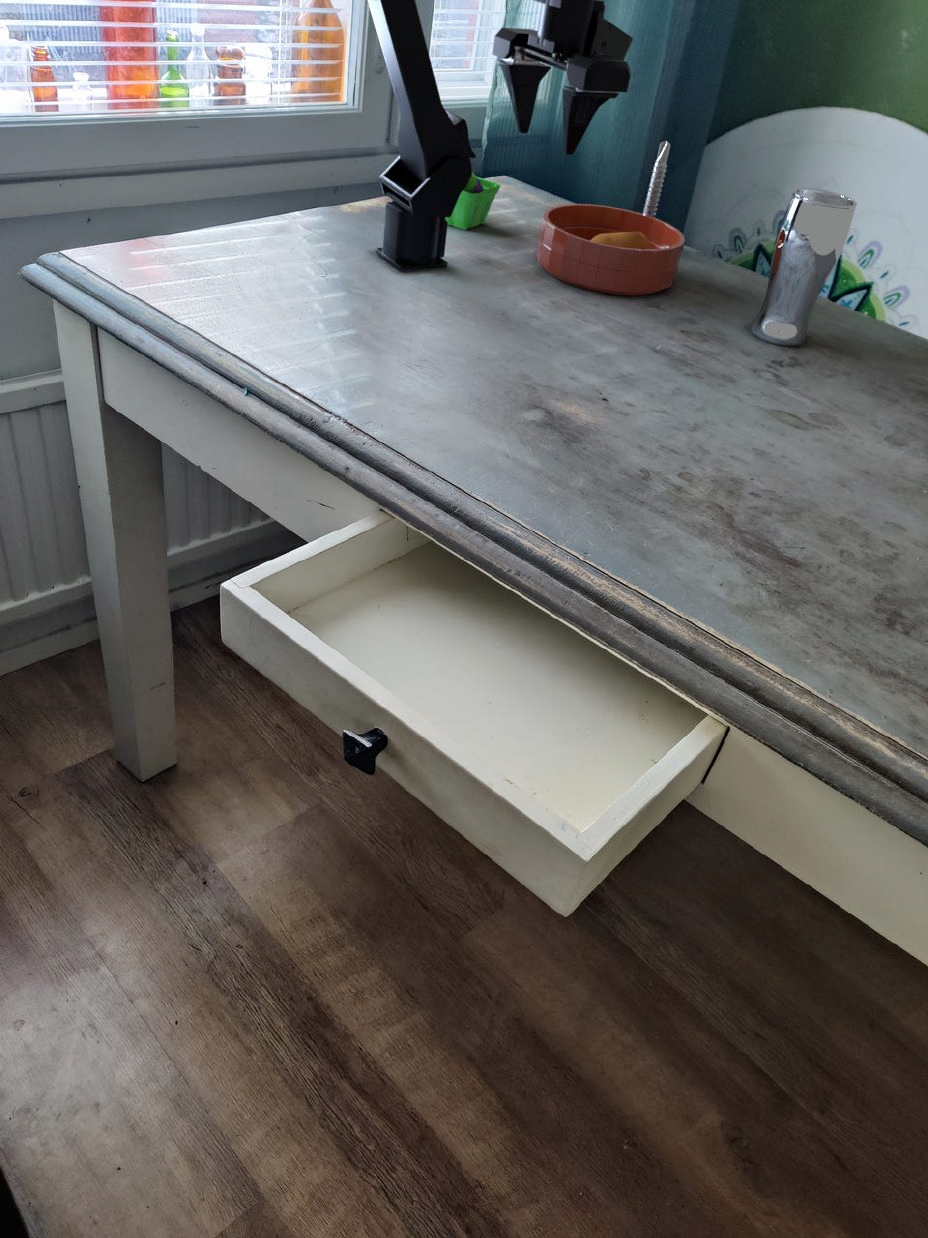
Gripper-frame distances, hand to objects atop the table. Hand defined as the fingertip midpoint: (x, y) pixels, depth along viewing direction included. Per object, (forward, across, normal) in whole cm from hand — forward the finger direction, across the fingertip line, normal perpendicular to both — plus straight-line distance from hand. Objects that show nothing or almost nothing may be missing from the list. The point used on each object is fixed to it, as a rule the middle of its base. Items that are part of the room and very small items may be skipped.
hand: (545, 143), depth 111 cm
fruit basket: (+13, +15, +3) cm, 20 cm away
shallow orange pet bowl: (+13, -7, -7) cm, 16 cm away
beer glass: (+13, -29, -15) cm, 35 cm away
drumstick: (+12, -7, -7) cm, 16 cm away
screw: (+13, +1, -20) cm, 24 cm away
